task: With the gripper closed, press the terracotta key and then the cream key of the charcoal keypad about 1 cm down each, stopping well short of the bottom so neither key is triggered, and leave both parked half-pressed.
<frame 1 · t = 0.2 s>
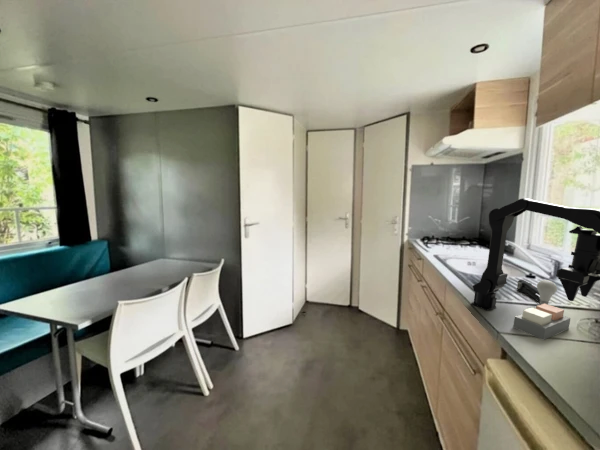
hand: (577, 298, 88), 14 cm above the worktop, fingers open, 9 cm apart
keypad: (540, 328, 96), on the worktop
terracotta key: (549, 313, 98), point 4 cm above the worktop, slide at 0.0 cm
can opener: (531, 297, 125), on the worktop
cream key: (536, 318, 94), point 4 cm above the worktop, slide at 0.0 cm
lightbulb: (543, 306, 115), on the worktop
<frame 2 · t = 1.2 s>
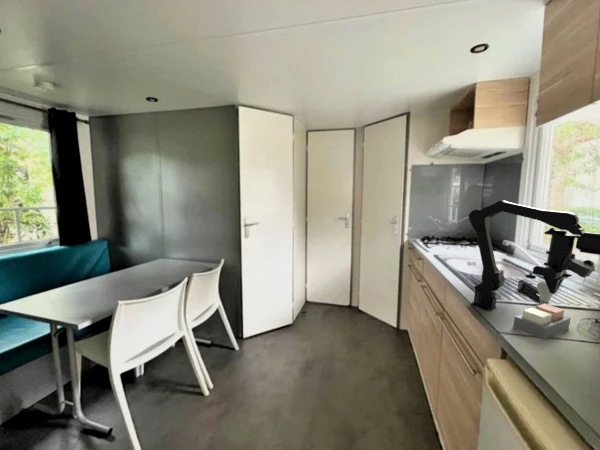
hand: (552, 293, 97), 12 cm above the worktop, fingers closed
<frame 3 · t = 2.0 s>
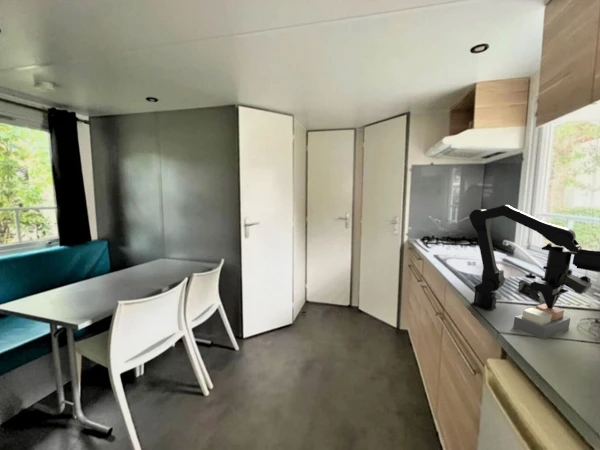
hand: (549, 308, 97), 7 cm above the worktop, fingers closed, pressing on terracotta key
terracotta key: (549, 313, 98), point 4 cm above the worktop, slide at 0.0 cm, touching gripper
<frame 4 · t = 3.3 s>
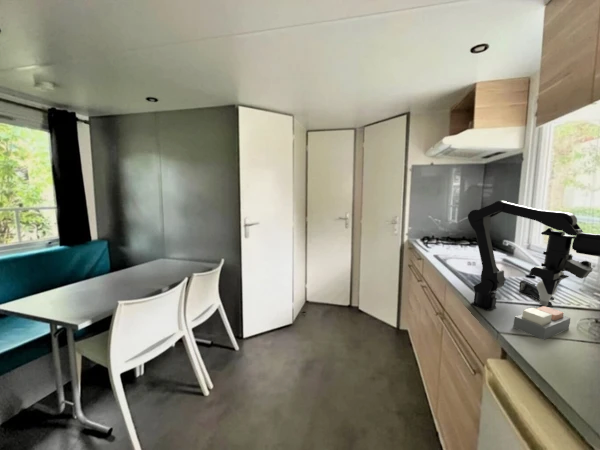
hand: (550, 294, 96), 12 cm above the worktop, fingers closed
terracotta key: (548, 316, 98), point 3 cm above the worktop, slide at 0.9 cm
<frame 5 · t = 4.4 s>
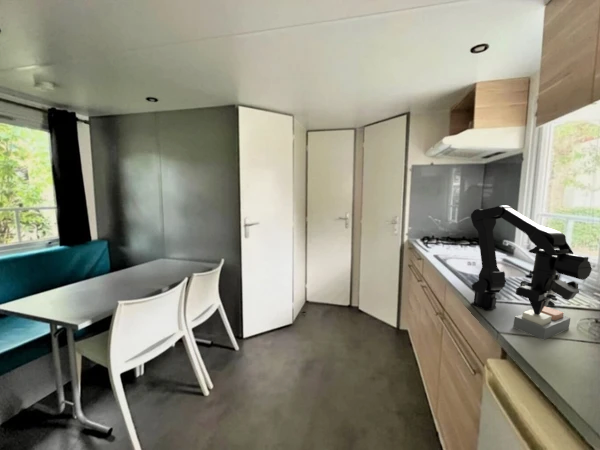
hand: (537, 314, 94), 6 cm above the worktop, fingers closed, pressing on cream key
cream key: (536, 320, 94), point 4 cm above the worktop, slide at 0.7 cm, touching gripper
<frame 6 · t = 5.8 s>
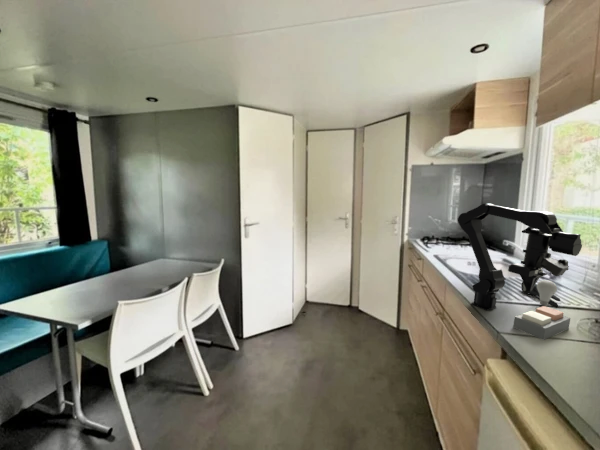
hand: (528, 290, 99), 12 cm above the worktop, fingers closed
cream key: (535, 321, 94), point 3 cm above the worktop, slide at 1.1 cm
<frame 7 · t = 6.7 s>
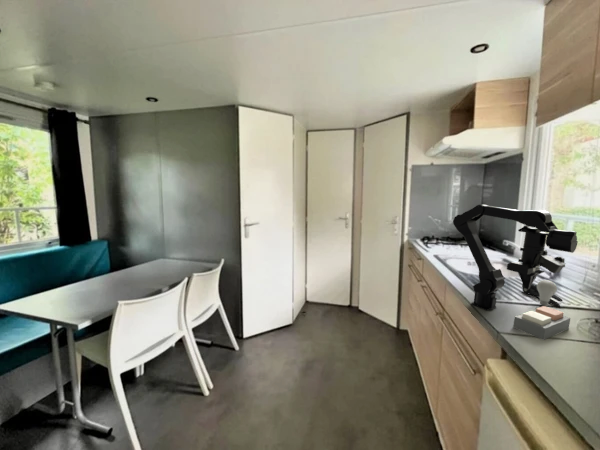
hand: (526, 288, 100), 12 cm above the worktop, fingers closed
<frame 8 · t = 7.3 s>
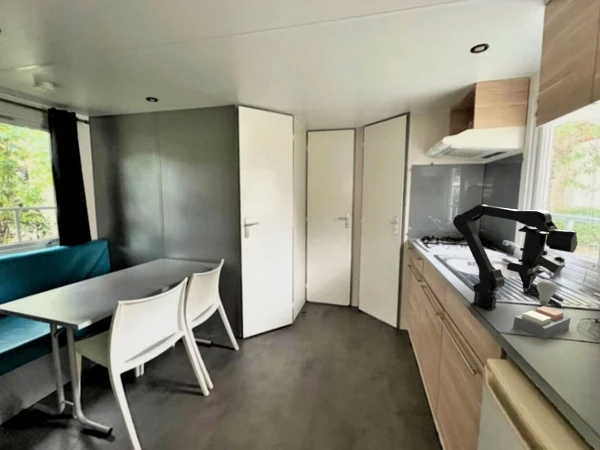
hand: (526, 288, 100), 12 cm above the worktop, fingers closed
at the end: terracotta key slide at 0.9 cm; cream key slide at 1.1 cm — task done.
